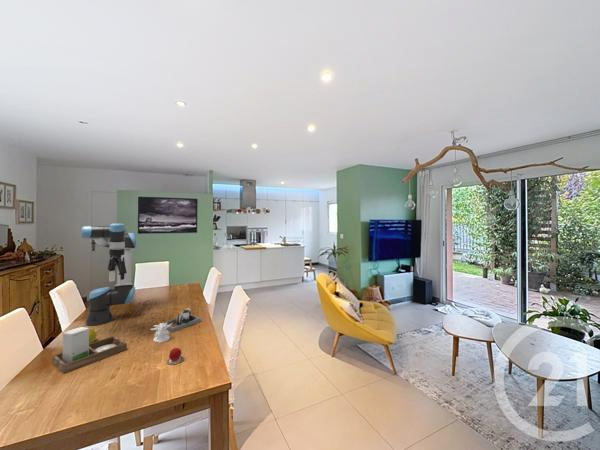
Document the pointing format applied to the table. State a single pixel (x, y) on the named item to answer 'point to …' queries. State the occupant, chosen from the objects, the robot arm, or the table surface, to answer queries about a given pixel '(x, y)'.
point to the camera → (184, 316)
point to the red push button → (175, 356)
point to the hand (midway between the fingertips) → (116, 283)
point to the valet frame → (172, 329)
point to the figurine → (161, 332)
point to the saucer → (105, 347)
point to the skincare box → (75, 344)
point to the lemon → (92, 336)
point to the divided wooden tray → (91, 354)
